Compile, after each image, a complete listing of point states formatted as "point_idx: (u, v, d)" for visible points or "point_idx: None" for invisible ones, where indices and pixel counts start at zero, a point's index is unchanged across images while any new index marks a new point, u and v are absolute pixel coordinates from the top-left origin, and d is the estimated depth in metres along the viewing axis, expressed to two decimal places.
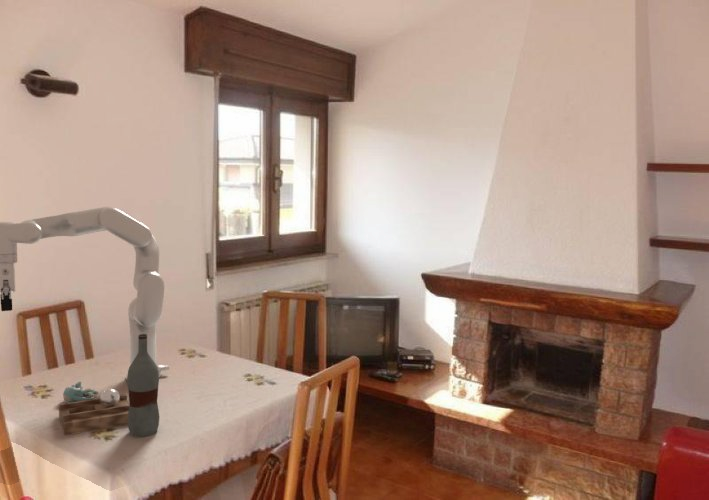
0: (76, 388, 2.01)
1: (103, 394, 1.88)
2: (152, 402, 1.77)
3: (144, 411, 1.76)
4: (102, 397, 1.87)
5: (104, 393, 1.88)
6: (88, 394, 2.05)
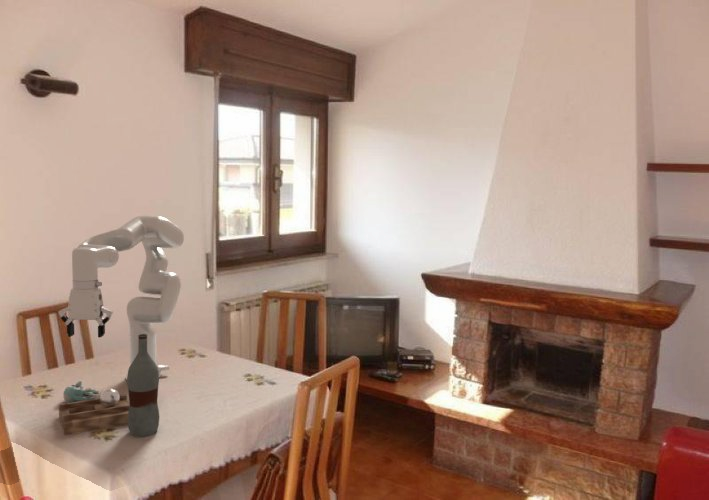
0: (76, 388, 2.02)
1: (103, 394, 1.88)
2: (152, 402, 1.77)
3: (144, 411, 1.76)
4: (102, 397, 1.87)
5: (104, 393, 1.88)
6: (88, 394, 2.05)
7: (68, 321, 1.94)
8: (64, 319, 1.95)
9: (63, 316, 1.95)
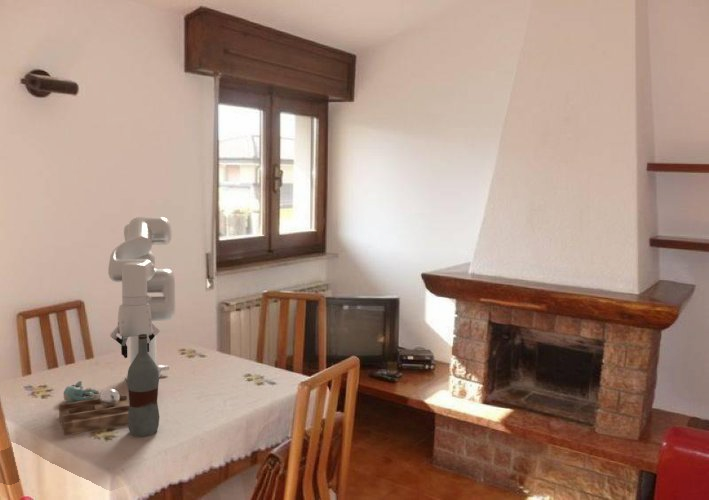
0: (76, 388, 2.02)
1: (103, 394, 1.88)
2: (152, 402, 1.77)
3: (144, 411, 1.76)
4: (102, 397, 1.87)
5: (104, 393, 1.88)
6: (88, 394, 2.05)
7: (125, 342, 1.89)
8: (119, 340, 1.89)
9: (118, 337, 1.89)
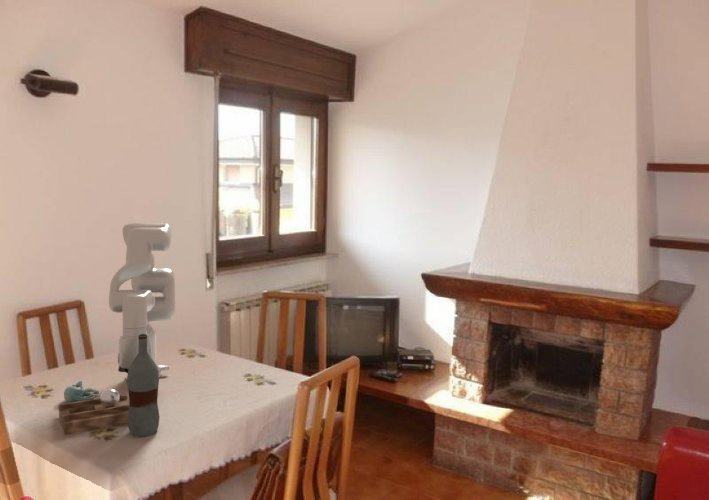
0: (76, 387, 2.02)
1: (103, 394, 1.88)
2: (152, 402, 1.77)
3: (144, 411, 1.76)
4: (102, 397, 1.87)
5: (104, 393, 1.88)
6: (89, 394, 2.05)
7: None
8: None
9: (127, 368, 1.91)
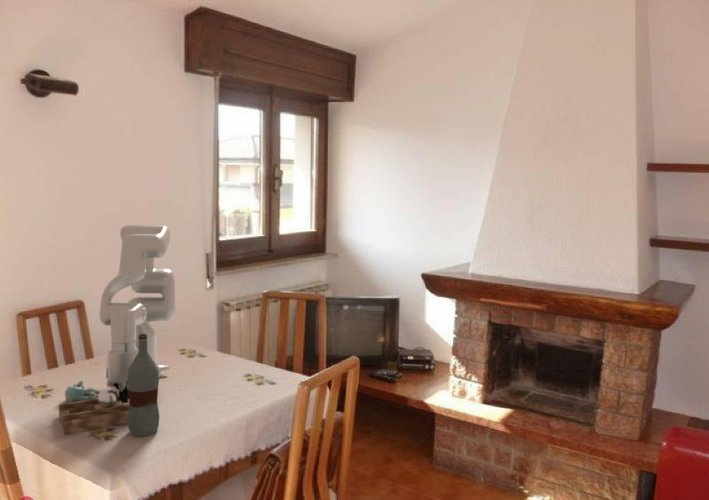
0: (78, 387, 2.02)
1: (100, 396, 1.87)
2: (152, 402, 1.77)
3: (144, 411, 1.76)
4: (100, 399, 1.87)
5: (101, 395, 1.87)
6: (90, 393, 2.06)
7: (122, 387, 1.90)
8: (117, 386, 1.89)
9: (116, 383, 1.89)
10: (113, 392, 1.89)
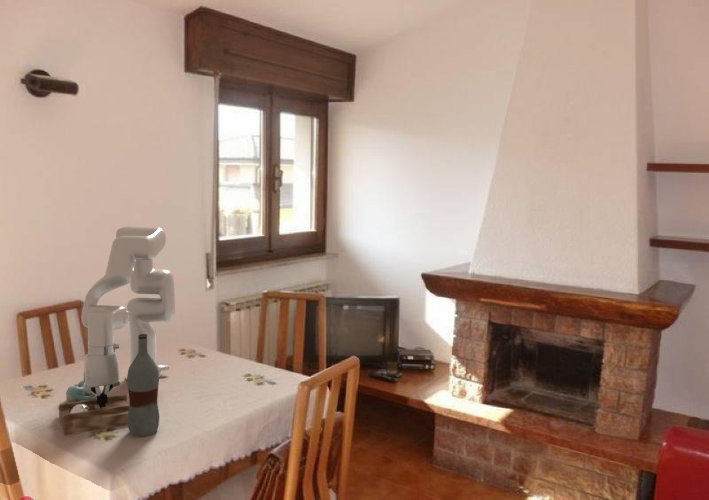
0: (79, 387, 2.02)
1: None
2: (152, 402, 1.77)
3: (144, 411, 1.76)
4: None
5: None
6: (91, 393, 2.06)
7: None
8: (94, 390, 1.86)
9: (93, 387, 1.86)
10: None
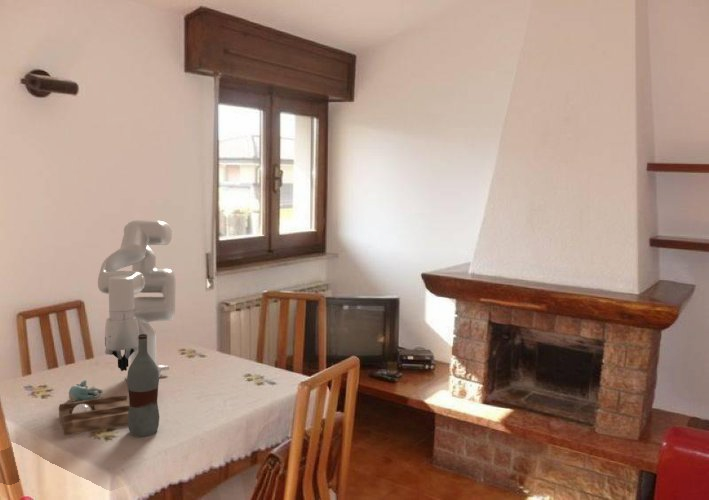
0: (82, 387, 2.03)
1: None
2: (152, 402, 1.77)
3: (144, 411, 1.76)
4: None
5: None
6: (93, 393, 2.06)
7: (121, 355, 1.90)
8: (116, 354, 1.89)
9: (114, 351, 1.89)
10: None
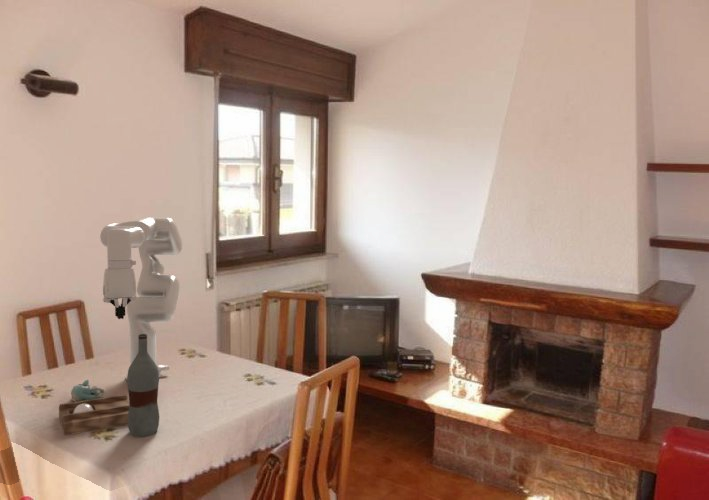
0: (84, 386, 2.03)
1: None
2: (152, 402, 1.77)
3: (144, 411, 1.76)
4: None
5: None
6: (95, 392, 2.07)
7: (118, 304, 2.00)
8: (113, 302, 2.00)
9: (112, 299, 2.00)
10: None
